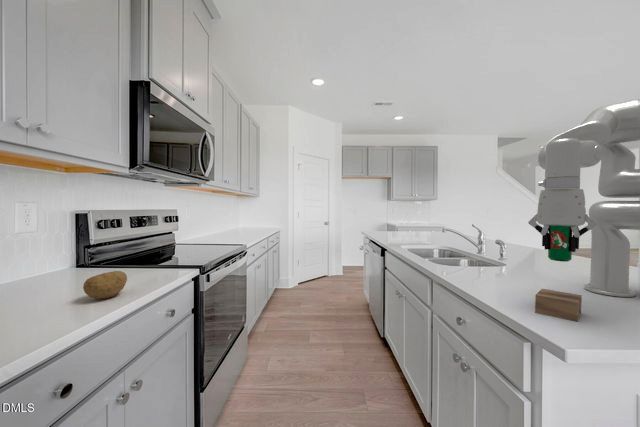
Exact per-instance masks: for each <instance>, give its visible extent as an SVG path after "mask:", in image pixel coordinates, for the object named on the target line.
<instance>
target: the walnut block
mask: <svg viewBox="0 0 640 427" xmlns="http://www.w3.org/2000/svg"><path fill="white" fill-rule="evenodd" d="M582 296H583V295H582V294H576V293H571V292H564V291H559V290H554V289H546V288H541V289H540V290H539V291H537V293H536V294H535V300H534V303H535V305H534V313H535V314H540V315H546V316H549V317H554V318H558V319H564V320H568V321H572V322H579V319H580V317H581V314H582V301H583V298H582Z"/></svg>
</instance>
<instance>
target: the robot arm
mask: <svg viewBox="0 0 640 427" xmlns="http://www.w3.org/2000/svg"><path fill="white" fill-rule="evenodd" d="M636 141H637V142H639V141H640V98H638V99H637V98H635V99H631V100H627V101H622V102H617V103H612V104H607V105H604V106H600V107H598V108H596V109H593V111H592V112H591V113H590V114H589V115H588V116H587V117H586V118H585V119H584V120H583V121H582V122H581V124H580V125H578V126H575V127H572V128H570V129H568V130H566V131H564V132H562V133H559V134H557V135H556V136H554V137H552V138H551V139H549V140H548V141H547V142H546V143H545V144H543V146H542V147H541V149H540V150H539V153H538V156H537V164H539V167H541V169H543V170H545V171H544V179H543V180H542V181H538V184H537V185H538V187H542V188H543V189H541V190H540V193H539V197H538V201H537V202H538V203H537V213H536V214H535V215H534V216H533V217H532V218H531V219H530V220H529V221H528V225H530V227H531V226H532V227H533V228H534V229H535V230H536V231H537V232H538V233H539V234H540V235H541V239H542V240H541V246H542V247H544V250H545V251H546V250H547V251H548V242H549V226H550V225H553V226H556V225H561V226H571V229H572V238H571V251H572V253H575V252H576V251H577V250H579V249H580V237H581V236H582V235H584V234H586V233H587V232H589V231H591V243H590V244H591V247H590V248H591V249H590V273H589V274H590V276H589V277H590V278H589V279H590V280H589V283H586V284H584V285H583V288H584V290H586V291H588V292H591V293H595V294H599V295H606V296H610V297H620V298H633V297H635V296H636V292H635V291H634V290H632V289H630V288H629V284H630V282H629V281H630V262H631V261H630V259H631V256H630V255H631V242H630V240H629V238H628V237H627V236H626V234H624V233H623V232H622V230H629V231H630V230H631V231H640V200H603V201H598V202H595V203H593V204H592V205H590V207H589V209H588V214H587V213H586V212H587V209H586V196H585V191H584V189H582V188H581V169H583V168H584V169H585V168H591V167H594V166H596V165H598V164H599V163H600V168H599V169H600V170H599V177H598V187H597V188H598V193H599V195H600V196H602V197H604V198H608V199H609V198H610V199H621V198H622V199H630V198H631V199H633V198H634V199H635V198H636V199H637V198H639V199H640V168H635V166H636V158H637V157H636V155H635V153H634V152H633V151H632V150H630V149H629V148H628V147H626V146H625V145H623V144H621V143H631V142H636ZM586 223H587V225H586V226H584V227H582V228H581V229H580V228H579V226H580V227H581V226H583V225H584V224H586ZM541 225H542V226H541Z"/></svg>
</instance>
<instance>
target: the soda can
mask: <svg viewBox="0 0 640 427" xmlns="http://www.w3.org/2000/svg"><path fill="white" fill-rule="evenodd" d="M548 233H549V242H548V249H547V258H548V259H549V260H551V261H554V262H555V261H556V262H562V263H563V262H564V263H567V262H570V261H572V257H573V256H572V254H573V252H572V251H571V238H572V237H573V231H572V229H571V226H561V225H556V226H553V225H550V226H549V231H548Z"/></svg>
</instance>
